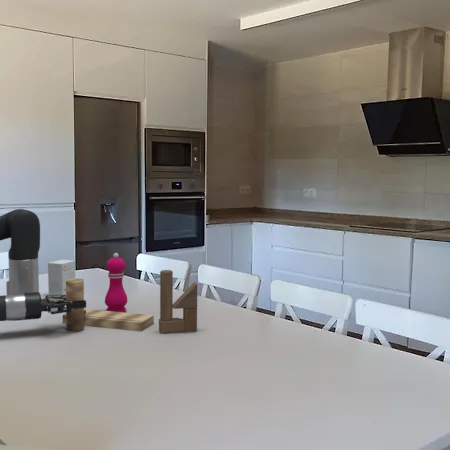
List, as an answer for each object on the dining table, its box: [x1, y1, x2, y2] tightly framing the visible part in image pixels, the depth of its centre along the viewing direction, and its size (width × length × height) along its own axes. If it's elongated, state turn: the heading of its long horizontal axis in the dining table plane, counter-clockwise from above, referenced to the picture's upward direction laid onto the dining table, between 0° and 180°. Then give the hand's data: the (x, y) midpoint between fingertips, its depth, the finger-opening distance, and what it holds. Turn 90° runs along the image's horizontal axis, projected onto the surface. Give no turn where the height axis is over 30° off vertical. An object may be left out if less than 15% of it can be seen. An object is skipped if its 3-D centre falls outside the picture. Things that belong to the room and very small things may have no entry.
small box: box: [47, 259, 76, 295], centre depth 207 cm, size 8×6×13 cm
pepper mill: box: [104, 252, 128, 313], centre depth 183 cm, size 7×7×20 cm
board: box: [62, 308, 155, 332], centre depth 172 cm, size 26×9×3 cm, turn 74°
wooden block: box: [158, 269, 198, 334], centre depth 164 cm, size 4×11×18 cm, turn 105°
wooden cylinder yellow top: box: [65, 278, 86, 333], centre depth 166 cm, size 5×8×15 cm, turn 164°
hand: (84, 301), depth 166 cm, fingers closed on wooden cylinder yellow top, 5 cm apart
